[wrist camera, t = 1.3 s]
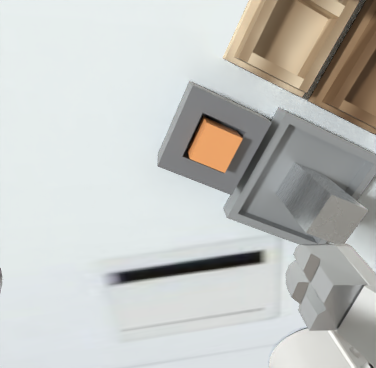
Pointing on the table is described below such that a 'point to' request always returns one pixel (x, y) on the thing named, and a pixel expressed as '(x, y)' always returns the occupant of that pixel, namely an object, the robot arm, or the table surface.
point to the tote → (279, 167)
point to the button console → (221, 113)
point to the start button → (214, 145)
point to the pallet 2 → (352, 74)
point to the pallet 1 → (288, 39)
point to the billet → (320, 204)
